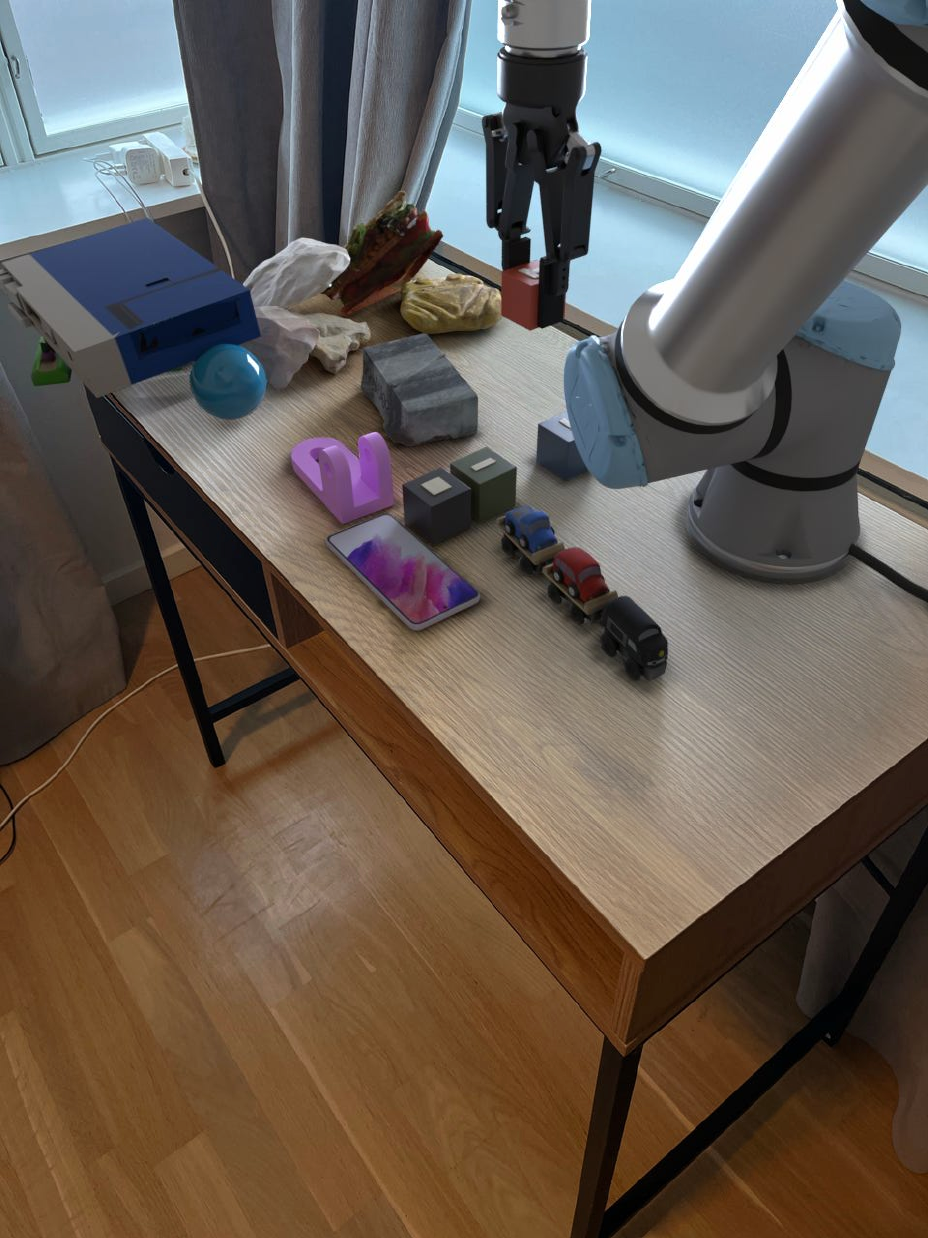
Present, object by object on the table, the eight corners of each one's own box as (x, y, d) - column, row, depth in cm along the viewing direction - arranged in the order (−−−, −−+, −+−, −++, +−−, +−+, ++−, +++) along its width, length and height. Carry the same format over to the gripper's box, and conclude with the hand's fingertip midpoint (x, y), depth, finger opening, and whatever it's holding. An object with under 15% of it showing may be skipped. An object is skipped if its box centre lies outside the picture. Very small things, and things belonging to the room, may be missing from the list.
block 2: (515, 506, 93) (517, 466, 90) (479, 523, 91) (479, 483, 88) (486, 484, 96) (486, 445, 92) (450, 501, 94) (449, 461, 90)
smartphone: (388, 510, 91) (484, 594, 82) (388, 517, 92) (483, 602, 83) (321, 537, 88) (413, 628, 79) (322, 544, 88) (413, 636, 80)
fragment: (275, 267, 130) (254, 234, 127) (391, 240, 118) (371, 203, 115) (219, 338, 123) (195, 305, 119) (336, 317, 111) (313, 280, 108)
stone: (395, 348, 113) (318, 356, 108) (390, 375, 116) (315, 384, 110) (344, 296, 120) (269, 301, 115) (340, 322, 123) (267, 328, 118)
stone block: (399, 455, 100) (396, 411, 96) (354, 390, 109) (349, 347, 106) (478, 435, 102) (478, 391, 98) (427, 373, 112) (425, 331, 108)
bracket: (393, 504, 93) (389, 443, 88) (342, 524, 91) (335, 462, 86) (332, 443, 101) (324, 383, 96) (283, 459, 99) (273, 399, 94)
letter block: (564, 318, 95) (567, 272, 92) (530, 330, 94) (531, 284, 90) (535, 303, 98) (536, 258, 95) (500, 315, 96) (501, 269, 93)
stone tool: (336, 341, 111) (243, 296, 117) (321, 316, 107) (225, 270, 112) (291, 402, 110) (200, 354, 115) (274, 379, 105) (179, 330, 111)
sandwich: (465, 232, 123) (428, 178, 122) (419, 245, 113) (378, 186, 112) (383, 309, 133) (349, 259, 132) (335, 327, 123) (297, 274, 122)
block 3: (598, 465, 98) (602, 426, 95) (565, 481, 96) (568, 442, 93) (568, 446, 100) (571, 407, 97) (535, 461, 98) (537, 422, 95)
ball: (222, 447, 104) (283, 411, 102) (172, 395, 98) (235, 356, 96) (222, 404, 109) (280, 369, 107) (174, 353, 104) (234, 314, 102)
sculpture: (407, 316, 114) (387, 268, 125) (409, 344, 117) (388, 294, 128) (515, 305, 116) (485, 259, 127) (514, 332, 119) (485, 285, 130)
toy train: (638, 694, 75) (646, 647, 71) (485, 541, 89) (486, 496, 85) (675, 675, 76) (685, 629, 73) (520, 528, 90) (522, 483, 87)
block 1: (471, 528, 90) (471, 487, 87) (432, 546, 88) (431, 506, 85) (442, 505, 93) (441, 465, 90) (404, 523, 91) (401, 483, 88)
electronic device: (261, 336, 104) (156, 256, 123) (249, 289, 100) (143, 215, 119) (85, 402, 96) (3, 306, 115) (66, 354, 93) (-16, 263, 112)
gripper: (443, 35, 84) (449, 295, 99) (580, 73, 73) (563, 357, 89) (510, 22, 87) (506, 276, 103) (650, 58, 76) (622, 334, 92)
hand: (532, 313), depth 96 cm, fingers closed on letter block, 4 cm apart
